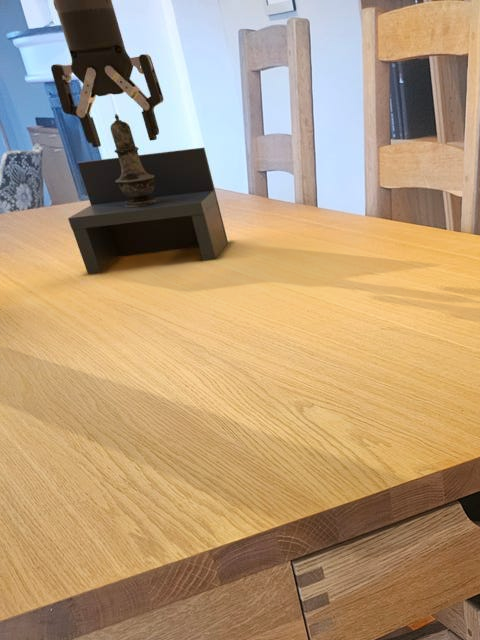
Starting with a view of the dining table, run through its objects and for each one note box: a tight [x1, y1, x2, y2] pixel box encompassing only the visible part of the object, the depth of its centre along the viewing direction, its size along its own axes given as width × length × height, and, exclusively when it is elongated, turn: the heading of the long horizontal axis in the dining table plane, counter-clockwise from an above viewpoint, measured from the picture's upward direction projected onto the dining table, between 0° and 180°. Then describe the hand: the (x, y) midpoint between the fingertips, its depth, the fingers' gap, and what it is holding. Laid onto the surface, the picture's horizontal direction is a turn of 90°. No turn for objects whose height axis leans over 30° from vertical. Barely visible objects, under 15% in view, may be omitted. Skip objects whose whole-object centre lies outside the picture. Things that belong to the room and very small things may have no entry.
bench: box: [67, 147, 229, 275], centre depth 131 cm, size 20×14×14 cm
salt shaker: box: [110, 113, 160, 207], centre depth 126 cm, size 6×6×12 cm
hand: (125, 143), depth 125 cm, fingers open, 8 cm apart
